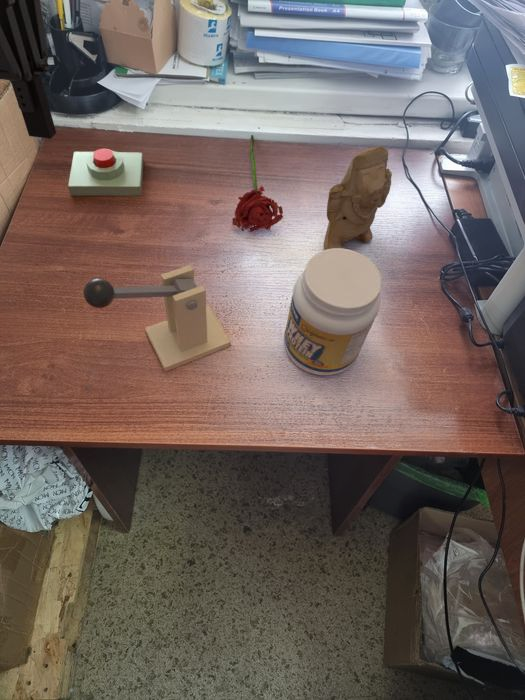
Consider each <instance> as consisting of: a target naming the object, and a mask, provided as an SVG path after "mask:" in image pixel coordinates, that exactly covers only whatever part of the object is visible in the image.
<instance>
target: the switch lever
mask: <svg viewBox="0 0 525 700" xmlns="http://www.w3.org/2000/svg"><path fill="white" fill-rule="evenodd" d="M197 287H198V286H197V285H196V283H195V280H194V281H193V279H175V280H174V283H173V285H172V286H162V285H151V286H150V285H149V286H147V285H145V286H143V285H142V286H113V285H112V283H110V282H109V280H106V279H105V278H93V279H91V280H89V281H88V282H87V283H86V284H85V285H84V288H83V297H84V300H85V302H86V303H87V304H88V305H89V306H91V307H93V308H96V309H103V308H106V307H108V306H109V305H111V304H112V302H113V301H114V299H115V300H116V299H118V300H119V299H141V298H143V299H144V298H145V299H146V298H164V297H173V296H174V295H176V294H179V293H182V292H185V291H188V290H191V289H194V288H197Z"/></svg>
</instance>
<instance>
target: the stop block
mask: <svg viewBox="0 0 525 700" xmlns="http://www.w3.org/2000/svg"><path fill="white" fill-rule="evenodd" d="M110 150H111V151H112V152H113V155H114V160H115V163H114V165H113V166H111V167H108V168H99V167H97V166H96V164H95V161H94V157H93V154H94V152H95V151H73V156H72V161H71V168H70V171H69V172H70V173H69V178H68V184H67V188H68V191H69V194H70V196H76V197H77V196H79V197H81V196H83V197H85V196H90V197H92V196H95V197H99V196H101V197H102V196H107V197H108V196H109V197H110V196H113V197H114V196H115V197H121V196H122V197H123V196H124V197H125V196H128V197H129V196H130V197H131V196H134V197H135V196H138V197H141V196H142V194H143V179H144V178H143V177H144V156H143V155H144V154H143V152H142V151H141V152H140V151H139V152H137V151H136V152H133V151H131V152H129V151H126V152H125V151H121V152H120V151H114V150H112V149H110Z"/></svg>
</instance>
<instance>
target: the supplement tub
mask: <svg viewBox="0 0 525 700" xmlns="http://www.w3.org/2000/svg"><path fill="white" fill-rule="evenodd" d="M381 288H382V277H381V273H380V272H379V270H378V267H377V266H376V265H375V264H374V263H373V262H372V261H371V259H369V258H368V257H366V256H365V255H363V254H362V253H359V252H358V251H354V250H352V249H347V248H343V247H342V248H332V249H327V250H324V249H322V250H321V251H319V252H317V253H315V254H314V255H312V257H310V258H309V260H308V261H307V263H306V265H305V267H304V270H303V271H302V272H301V273H300V275H299V276H298V277H297V279H296V281H295V283H294V286H293V289H292V296H291V300H290V305H289V311H288V314H287V319H286V324H285V329H284V333H283V342H284V343H283V344H284V347H285V350H286V353H287V355H288V357H289V358H290V360H291V361H292V363H293V364H294V365H296V366H297V368H299V369H301V370H303V371H305V372H307V373H310V374H313V375H317V376H318V375H319V376H332V375H333V376H334V375H335V374H336V375H337V374H340V373H342V372H344V371H346V370H348V368H350V367H351V366H352V365H353V364H354V363H355V362H356V361H357V359H358V358H359V355H360V352H361V350H362V348H363V346H364V344H365V341H366V339H367V336H368V335H369V333H370V330H371V328H372V325H373V324H374V322H375V319H376V317H378V315H379V314H378V313H379V311H380V307H381V294H380V293H381V292H380V291H381Z"/></svg>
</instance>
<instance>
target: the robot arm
mask: <svg viewBox="0 0 525 700" xmlns="http://www.w3.org/2000/svg"><path fill="white" fill-rule="evenodd" d="M46 38H47V37H46V32H45V24H44V17H43V10H42V3H41V0H0V80H5V81H9V82H10V84H11V87H12V90H13V93H14V96H15V98H16V102H17V105H18V108H19V110H20V112H21V115H22V118H23V121H24V124H25V127H26V131H27V134H28V136H29V137H33V138H42V139H49V140H51V139H52V138H53V137H54V136H55V135H57V129H56V125H55V123H54V120H53V116H52V111H51V108H50V105H49V101H48V97H47V93H46V89H45V86H44V82H43V79H42V74H41V73H43V74H47V73H48V72H50V71H49V70H50V66H49V64H47V63H46V64H44V63H42V62H43V61H47V60H48V59H49V52H48V45H47V39H46Z"/></svg>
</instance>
